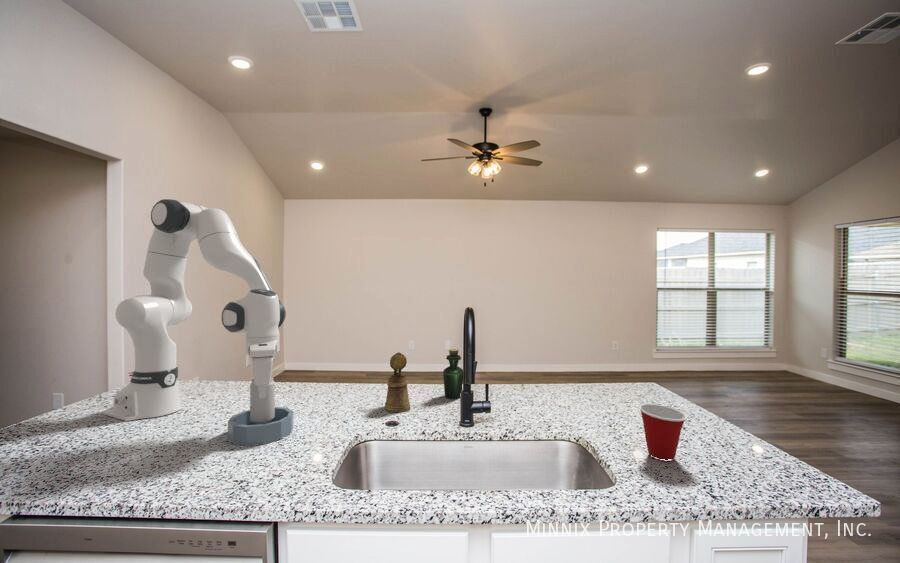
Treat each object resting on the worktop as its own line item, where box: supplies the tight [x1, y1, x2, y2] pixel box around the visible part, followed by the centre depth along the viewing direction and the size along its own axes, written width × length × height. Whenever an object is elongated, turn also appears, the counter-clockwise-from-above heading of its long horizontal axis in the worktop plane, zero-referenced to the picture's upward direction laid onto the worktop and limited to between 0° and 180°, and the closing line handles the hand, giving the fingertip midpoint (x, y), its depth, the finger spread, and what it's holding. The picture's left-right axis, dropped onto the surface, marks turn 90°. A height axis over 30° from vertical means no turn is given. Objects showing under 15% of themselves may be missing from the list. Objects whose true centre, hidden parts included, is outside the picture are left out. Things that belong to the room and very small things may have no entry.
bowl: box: [227, 406, 294, 446], centre depth 112 cm, size 16×16×5 cm
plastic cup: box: [638, 403, 688, 460], centre depth 99 cm, size 11×11×12 cm
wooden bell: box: [384, 352, 411, 413], centre depth 137 cm, size 9×14×18 cm, turn 5°
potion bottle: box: [442, 348, 464, 400], centre depth 150 cm, size 8×8×18 cm
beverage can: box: [249, 376, 276, 424], centre depth 112 cm, size 6×6×12 cm
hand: (262, 393), depth 112 cm, fingers closed on beverage can, 6 cm apart
